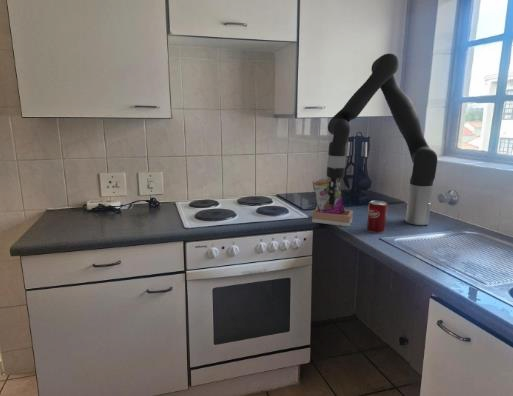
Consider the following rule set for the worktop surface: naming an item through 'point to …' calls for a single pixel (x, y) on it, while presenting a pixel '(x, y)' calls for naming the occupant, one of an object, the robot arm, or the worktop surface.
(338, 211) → the candy bar box
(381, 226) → the soda can
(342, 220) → the tan flat open box
